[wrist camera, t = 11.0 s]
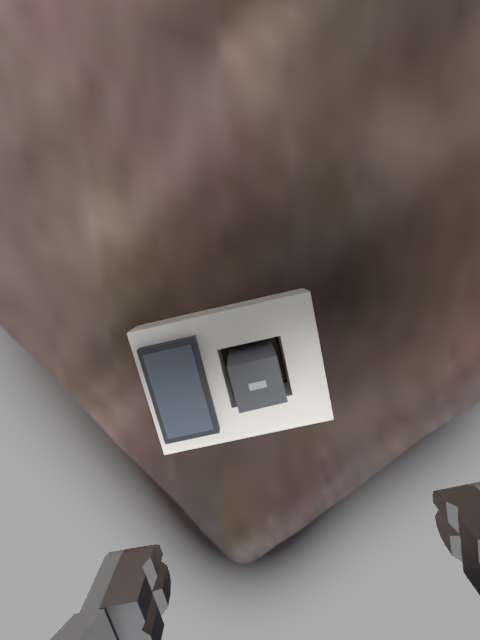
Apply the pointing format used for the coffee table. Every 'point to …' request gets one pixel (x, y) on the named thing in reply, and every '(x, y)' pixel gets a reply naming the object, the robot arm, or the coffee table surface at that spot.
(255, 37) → the coffee table surface
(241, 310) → the switch plate
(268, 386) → the rocker switch
